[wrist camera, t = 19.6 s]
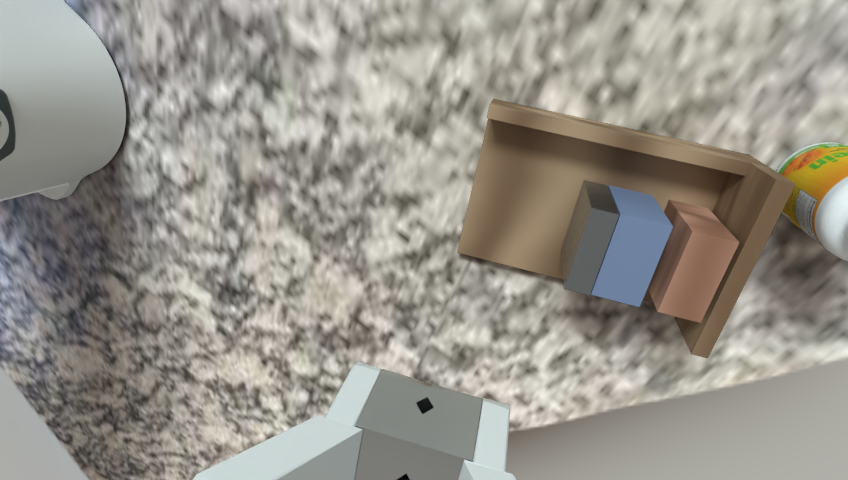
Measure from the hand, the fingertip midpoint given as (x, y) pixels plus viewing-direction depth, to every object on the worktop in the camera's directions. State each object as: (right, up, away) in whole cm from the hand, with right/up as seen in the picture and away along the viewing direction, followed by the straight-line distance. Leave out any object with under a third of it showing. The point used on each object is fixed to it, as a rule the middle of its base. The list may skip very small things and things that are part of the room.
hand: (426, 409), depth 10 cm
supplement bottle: (+25, +7, +24) cm, 35 cm away
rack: (+12, +6, +27) cm, 30 cm away
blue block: (+14, +4, +27) cm, 30 cm away
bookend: (+11, +5, +27) cm, 29 cm away
